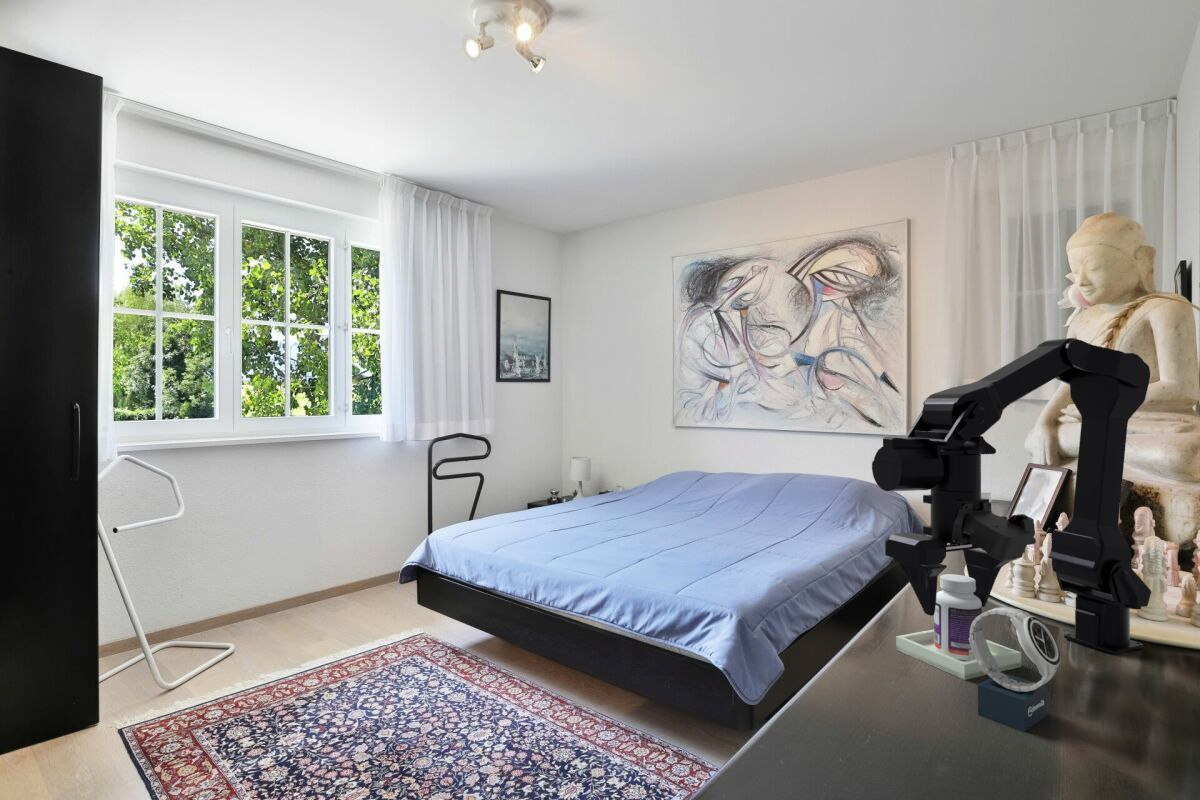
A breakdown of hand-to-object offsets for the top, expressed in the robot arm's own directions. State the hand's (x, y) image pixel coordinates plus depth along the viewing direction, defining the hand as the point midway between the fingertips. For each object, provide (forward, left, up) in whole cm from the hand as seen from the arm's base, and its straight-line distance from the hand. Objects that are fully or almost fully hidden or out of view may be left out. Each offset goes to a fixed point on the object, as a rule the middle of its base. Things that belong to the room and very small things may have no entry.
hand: (955, 610), depth 82 cm
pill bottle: (0, 0, -6) cm, 6 cm away
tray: (0, 0, -6) cm, 6 cm away
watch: (+8, +13, -6) cm, 16 cm away
